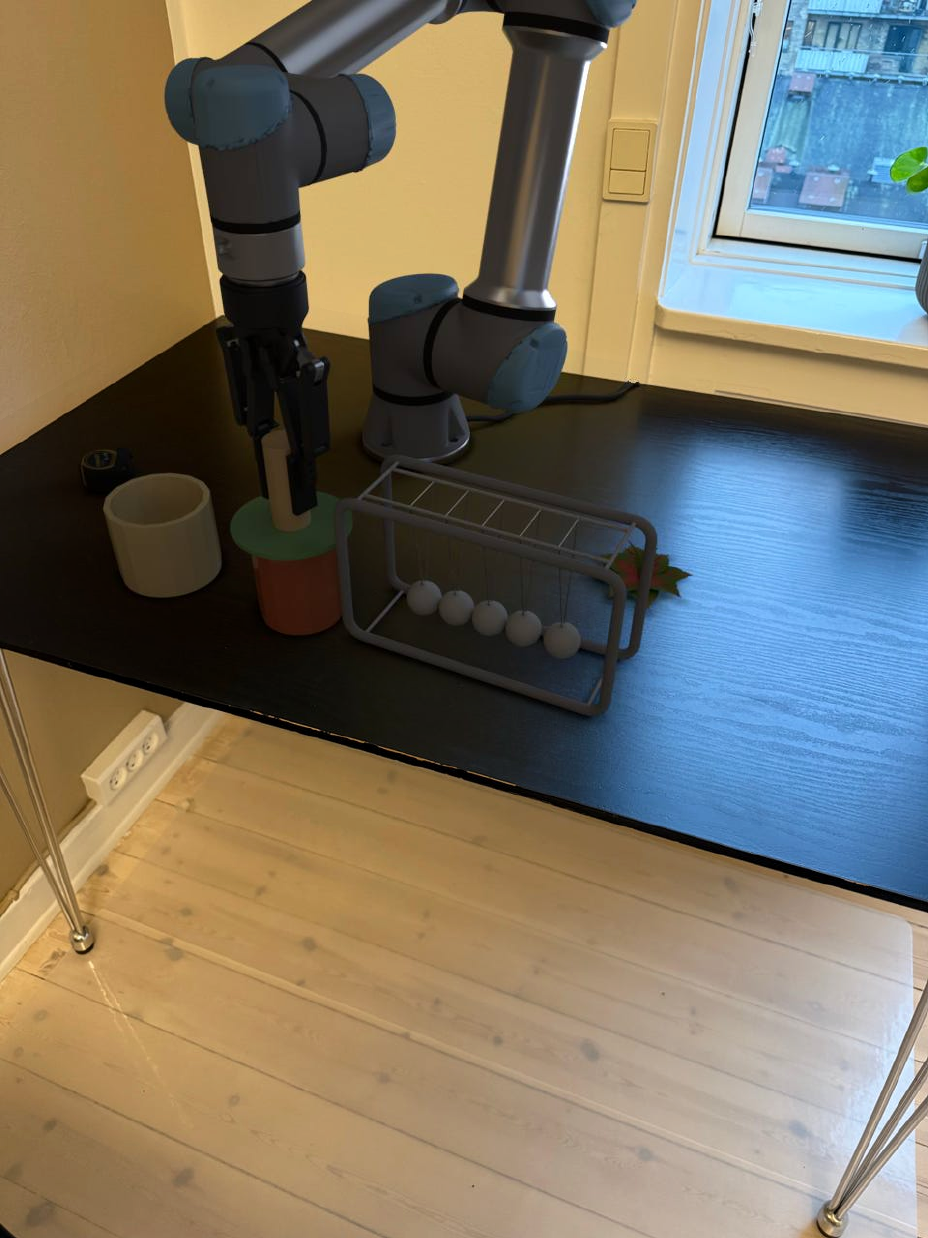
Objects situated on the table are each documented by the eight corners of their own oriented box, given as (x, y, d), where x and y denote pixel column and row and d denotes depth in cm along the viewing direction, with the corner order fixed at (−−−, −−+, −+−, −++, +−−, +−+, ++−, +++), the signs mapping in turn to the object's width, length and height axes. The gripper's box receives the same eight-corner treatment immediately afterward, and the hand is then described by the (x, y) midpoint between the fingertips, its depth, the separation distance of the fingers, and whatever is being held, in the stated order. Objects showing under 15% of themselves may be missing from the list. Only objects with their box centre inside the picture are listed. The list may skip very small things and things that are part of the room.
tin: (223, 537, 118) (211, 469, 112) (219, 593, 109) (206, 523, 103) (128, 544, 116) (110, 476, 110) (116, 601, 108) (97, 531, 102)
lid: (349, 494, 106) (342, 406, 99) (357, 560, 96) (350, 467, 89) (233, 503, 104) (218, 413, 97) (229, 570, 95) (213, 476, 88)
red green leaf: (711, 580, 112) (718, 547, 109) (650, 625, 105) (656, 592, 102) (628, 538, 118) (633, 507, 116) (566, 578, 112) (569, 546, 109)
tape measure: (138, 492, 125) (132, 467, 123) (83, 500, 124) (76, 475, 121) (135, 467, 130) (129, 442, 128) (82, 474, 129) (76, 450, 126)
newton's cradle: (638, 660, 101) (662, 519, 89) (605, 724, 93) (627, 579, 82) (389, 584, 111) (382, 448, 99) (342, 636, 103) (329, 496, 92)
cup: (341, 581, 111) (335, 508, 105) (346, 631, 104) (340, 556, 98) (261, 587, 110) (250, 514, 103) (261, 639, 103) (249, 563, 96)
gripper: (167, 259, 85) (208, 486, 100) (294, 309, 77) (319, 548, 91) (234, 239, 90) (264, 459, 104) (361, 284, 81) (374, 516, 96)
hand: (289, 500), depth 98 cm, fingers closed on lid, 4 cm apart
